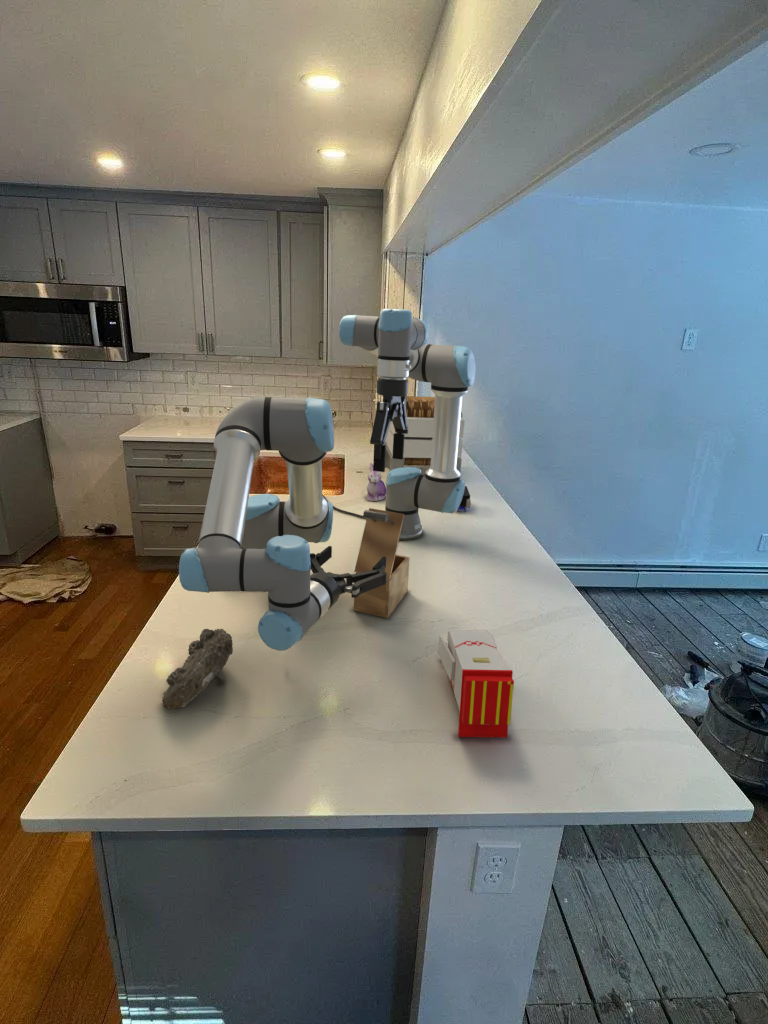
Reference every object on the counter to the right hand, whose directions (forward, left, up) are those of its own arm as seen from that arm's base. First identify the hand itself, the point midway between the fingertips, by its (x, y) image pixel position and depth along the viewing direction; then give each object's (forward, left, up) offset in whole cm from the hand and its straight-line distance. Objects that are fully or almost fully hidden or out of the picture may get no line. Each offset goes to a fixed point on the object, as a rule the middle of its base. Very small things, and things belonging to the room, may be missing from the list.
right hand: (388, 464), depth 141 cm
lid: (+2, -3, -20) cm, 20 cm away
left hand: (+9, -16, -17) cm, 26 cm away
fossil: (+4, -53, -38) cm, 65 cm away
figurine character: (-40, +75, -38) cm, 93 cm away
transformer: (-86, +97, -38) cm, 135 cm away
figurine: (-68, +54, -38) cm, 95 cm away
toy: (+41, -11, -38) cm, 57 cm away
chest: (0, 0, -38) cm, 38 cm away
